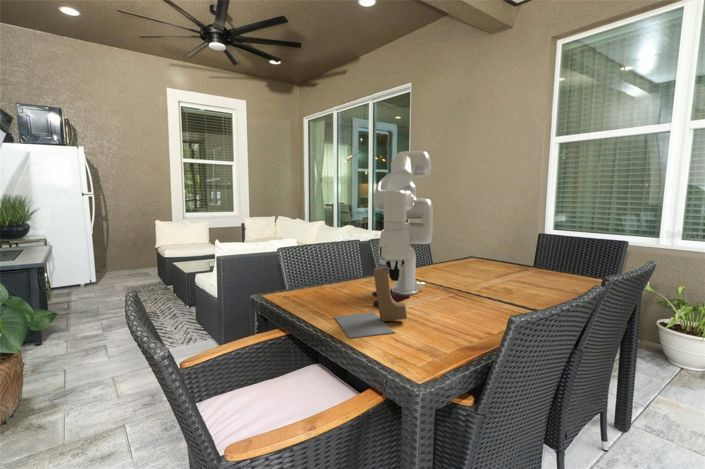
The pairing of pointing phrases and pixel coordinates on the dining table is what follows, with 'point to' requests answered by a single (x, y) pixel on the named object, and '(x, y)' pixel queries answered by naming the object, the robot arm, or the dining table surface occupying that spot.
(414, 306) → the dining table surface
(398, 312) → the wooden block
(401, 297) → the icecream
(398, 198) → the robot arm
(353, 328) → the mat
